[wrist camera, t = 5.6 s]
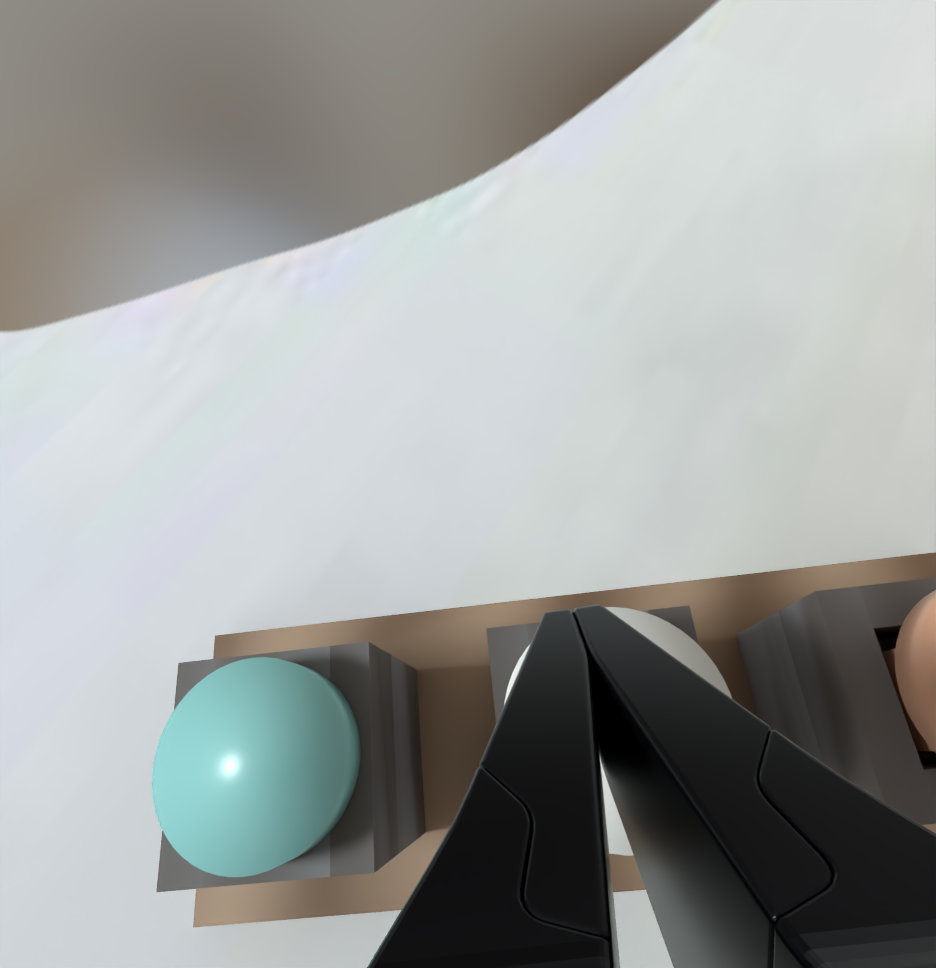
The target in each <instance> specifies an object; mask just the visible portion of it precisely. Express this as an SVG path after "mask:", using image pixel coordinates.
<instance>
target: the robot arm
mask: <svg viewBox="0 0 936 968" xmlns="http://www.w3.org/2000/svg"><path fill="white" fill-rule="evenodd" d="M600 760H601V763H602V767H603V770H604V773H605V776H606V779H607V782H608V785H609V788H610V790H611V793H612V796H613V799H614V802H615V804H616V807H617V810H618V813H619V816H620V818H621V821H622V824H623V827H624V830H625V832H626V835H627V838H628V841H629V843H630V846H631V849H632V852H633V855H634V857H635V860H636V863H637V866H638V869H639V871H640V874H641V877H642V880H643V883H644V885H645V888H646V891H647V894H648V897H649V899H650V902H651V905H652V908H653V911H654V913H655V916H656V919H657V922H658V925H659V927H660V930H661V933H662V936H663V939H664V941H665V944H666V947H667V950H668V952H669V955H670V958H671V961H672V964H673V966H674V968H936V833H934V832H933V831H931V830H929V829H928V828H926V827H924V826H923V825H921V824H919V823H918V822H916V821H914V820H913V819H911V818H909V817H908V816H906V815H904V814H902V813H901V812H899V811H897V810H896V809H894V808H892V807H891V806H889V805H888V804H886V803H884V802H883V801H881V800H880V799H878V798H876V797H875V796H873V795H872V794H870V793H868V792H867V791H865V790H864V789H862V788H860V787H859V786H857V785H856V784H854V783H852V782H851V781H849V780H847V779H846V778H844V777H843V776H841V775H840V774H838V773H837V772H835V771H834V770H832V769H831V768H829V767H828V766H826V765H825V764H824V763H822V762H821V761H819V760H818V759H816V758H815V757H813V756H812V755H810V754H809V753H807V752H806V751H805V750H803V749H802V748H800V747H799V746H797V745H796V744H795V743H793V742H792V741H790V740H789V739H788V738H786V737H785V736H783V735H782V734H781V733H779V732H778V731H776V730H771V727H770V726H769V725H768V724H766V723H765V722H764V721H762V720H761V719H759V718H758V717H757V716H755V715H754V714H752V713H751V712H750V711H748V710H747V709H746V708H744V707H743V706H741V705H740V704H739V703H737V702H736V701H734V700H733V699H732V698H730V697H729V696H727V695H726V694H725V693H723V692H722V691H721V690H719V689H718V688H716V687H715V686H714V685H712V684H711V683H709V682H708V681H707V680H705V679H704V678H702V677H701V676H700V675H698V674H697V673H696V672H694V671H693V670H691V669H690V668H689V667H687V666H686V665H684V664H683V663H682V662H680V661H679V660H677V659H676V658H675V657H673V656H672V655H670V654H669V653H668V652H666V651H665V650H664V649H662V648H661V647H659V646H658V645H657V644H655V643H654V642H652V641H651V640H650V639H648V638H647V637H645V636H644V635H643V634H641V633H640V632H639V631H637V630H636V629H634V628H633V627H632V626H630V625H629V624H627V623H626V622H625V621H623V620H622V619H620V618H619V617H618V616H616V615H615V614H614V613H612V612H611V611H609V610H608V609H607V608H605V607H604V606H602V605H599V604H597V605H590V606H583V607H577V608H575V609H574V611H573V612H572V611H571V610H570V609H562V610H555V611H548V612H545V613H544V614H543V616H542V618H541V620H540V623H539V625H538V627H537V630H536V632H535V634H534V637H533V639H532V641H531V644H530V646H529V648H528V651H527V653H526V655H525V658H524V660H523V662H522V665H521V667H520V669H519V672H518V674H517V676H516V679H515V681H514V683H513V686H512V688H511V690H510V693H509V695H508V697H507V700H506V702H505V704H504V707H503V709H502V711H501V714H500V716H499V719H498V721H497V723H496V726H495V728H494V730H493V733H492V735H491V737H490V740H489V742H488V744H487V747H486V749H485V751H484V754H483V756H482V758H481V761H480V763H479V768H477V769H476V772H475V774H474V776H473V779H472V781H471V783H470V786H469V788H468V790H467V793H466V795H465V797H464V799H463V801H462V803H461V805H460V807H459V809H458V812H457V814H456V816H455V818H454V820H453V822H452V824H451V826H450V828H449V830H448V832H447V833H446V835H445V837H444V839H443V841H442V842H441V844H440V846H439V848H438V849H437V851H436V853H435V855H434V857H433V858H432V860H431V862H430V864H429V865H428V867H427V869H426V870H425V872H424V874H423V875H422V877H421V879H420V880H419V882H418V884H417V885H416V887H415V889H414V890H413V892H412V894H411V895H410V897H409V899H408V900H407V902H406V904H405V905H404V907H403V909H402V910H401V912H400V914H399V915H398V917H397V919H396V920H395V922H394V924H393V925H392V927H391V929H390V930H389V932H388V934H387V935H386V937H385V939H384V940H383V942H382V944H381V945H380V947H379V949H378V950H377V952H376V954H375V955H374V957H373V959H372V960H371V962H370V964H369V965H368V967H367V968H620V962H619V951H618V941H617V930H616V919H615V909H614V898H613V888H612V877H611V867H610V856H609V845H608V835H607V824H606V814H605V803H604V793H603V782H602V773H601V763H600Z"/></svg>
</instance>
